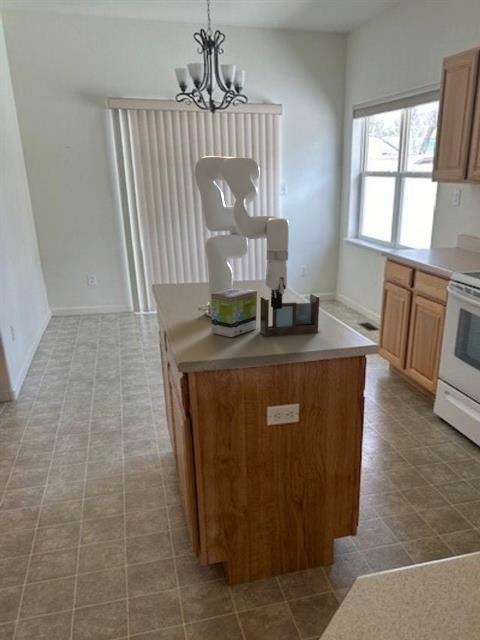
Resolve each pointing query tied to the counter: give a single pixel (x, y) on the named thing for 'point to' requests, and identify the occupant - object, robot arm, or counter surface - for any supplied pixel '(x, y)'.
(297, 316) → the window frame
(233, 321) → the tea box
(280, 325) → the sliding pane
